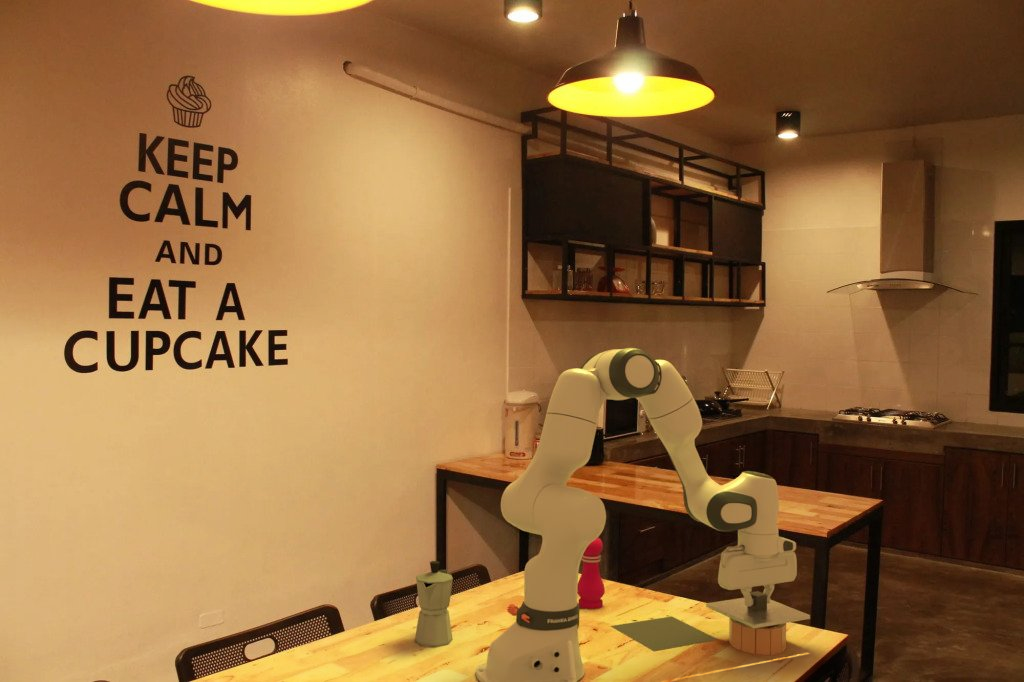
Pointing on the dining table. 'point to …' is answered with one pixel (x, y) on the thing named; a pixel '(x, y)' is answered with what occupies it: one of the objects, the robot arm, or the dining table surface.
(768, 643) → the bowl
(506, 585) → the dining table surface
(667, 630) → the rubber mat
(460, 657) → the dining table surface
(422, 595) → the coffee maker
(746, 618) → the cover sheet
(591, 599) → the pepper mill
